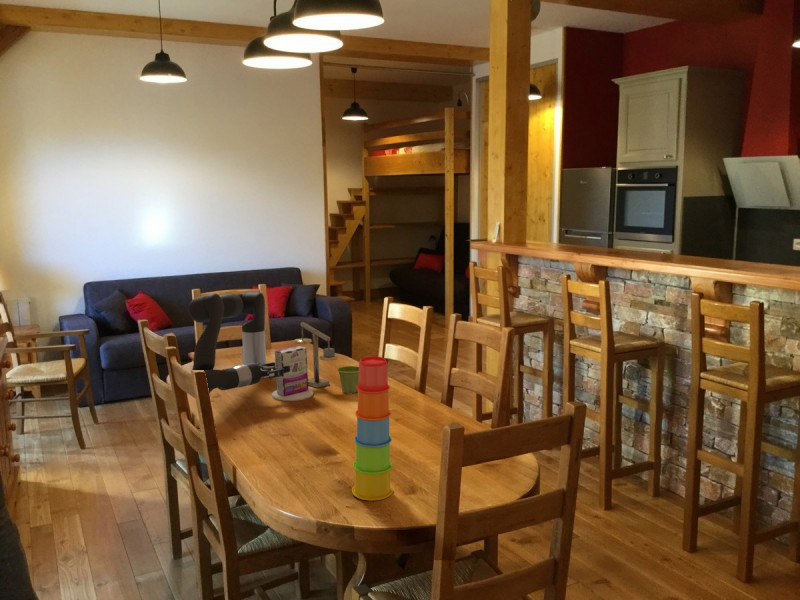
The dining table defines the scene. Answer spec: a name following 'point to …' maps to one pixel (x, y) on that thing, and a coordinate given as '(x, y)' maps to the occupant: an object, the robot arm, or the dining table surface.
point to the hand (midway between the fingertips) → (281, 366)
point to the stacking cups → (372, 432)
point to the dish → (294, 395)
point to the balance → (327, 354)
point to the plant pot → (349, 378)
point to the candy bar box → (292, 370)
